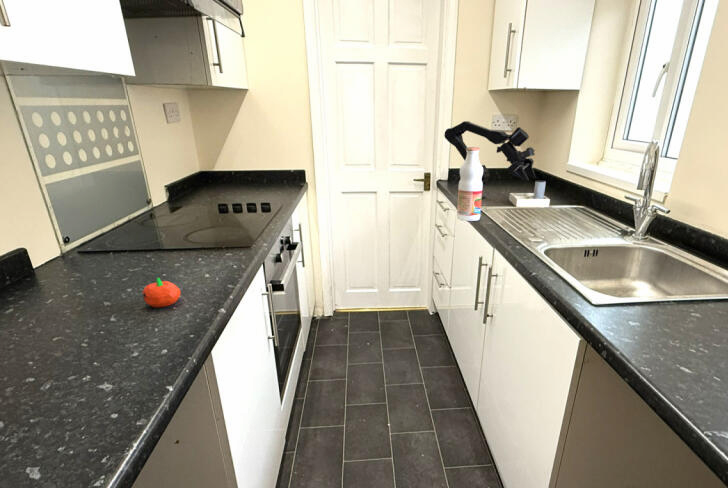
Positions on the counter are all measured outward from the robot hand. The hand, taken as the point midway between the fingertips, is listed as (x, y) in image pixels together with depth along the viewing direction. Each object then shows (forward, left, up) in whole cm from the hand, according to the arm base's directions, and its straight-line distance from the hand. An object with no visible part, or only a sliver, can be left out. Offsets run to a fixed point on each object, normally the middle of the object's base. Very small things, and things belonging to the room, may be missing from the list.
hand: (531, 179), depth 190 cm
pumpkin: (+111, -112, -12) cm, 159 cm away
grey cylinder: (+2, +3, -11) cm, 11 cm away
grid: (-1, 0, -11) cm, 11 cm away
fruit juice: (+29, -32, -12) cm, 45 cm away
